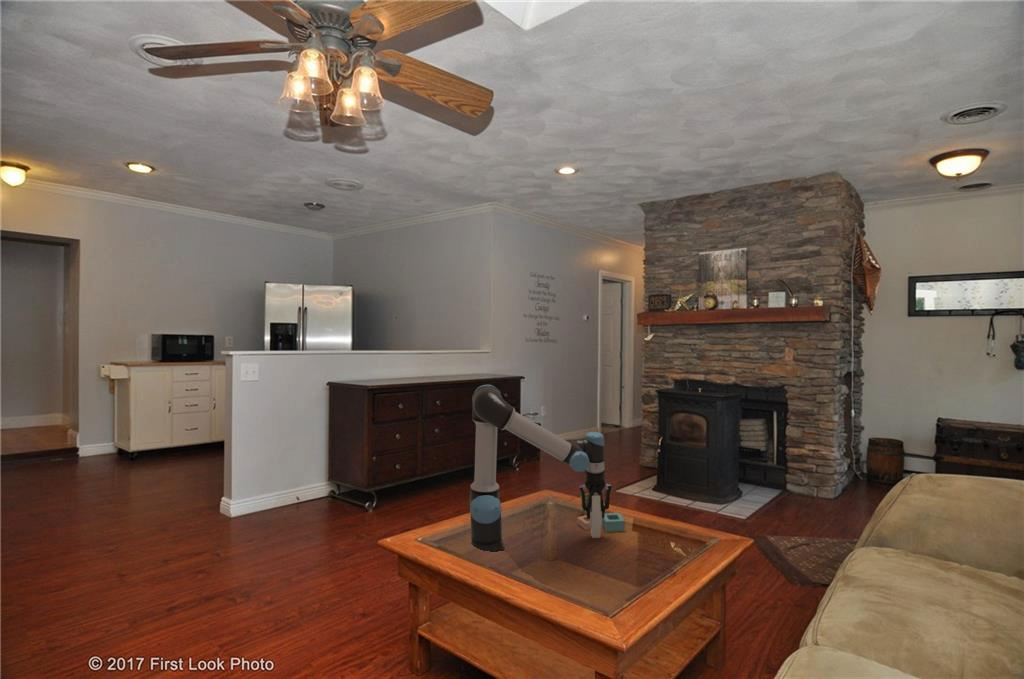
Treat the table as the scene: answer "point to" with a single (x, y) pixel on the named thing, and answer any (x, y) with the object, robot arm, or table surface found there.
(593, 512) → the light grey post
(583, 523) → the beige square hollow block
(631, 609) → the table surface
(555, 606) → the table surface
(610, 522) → the teal square hollow block
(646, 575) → the table surface
